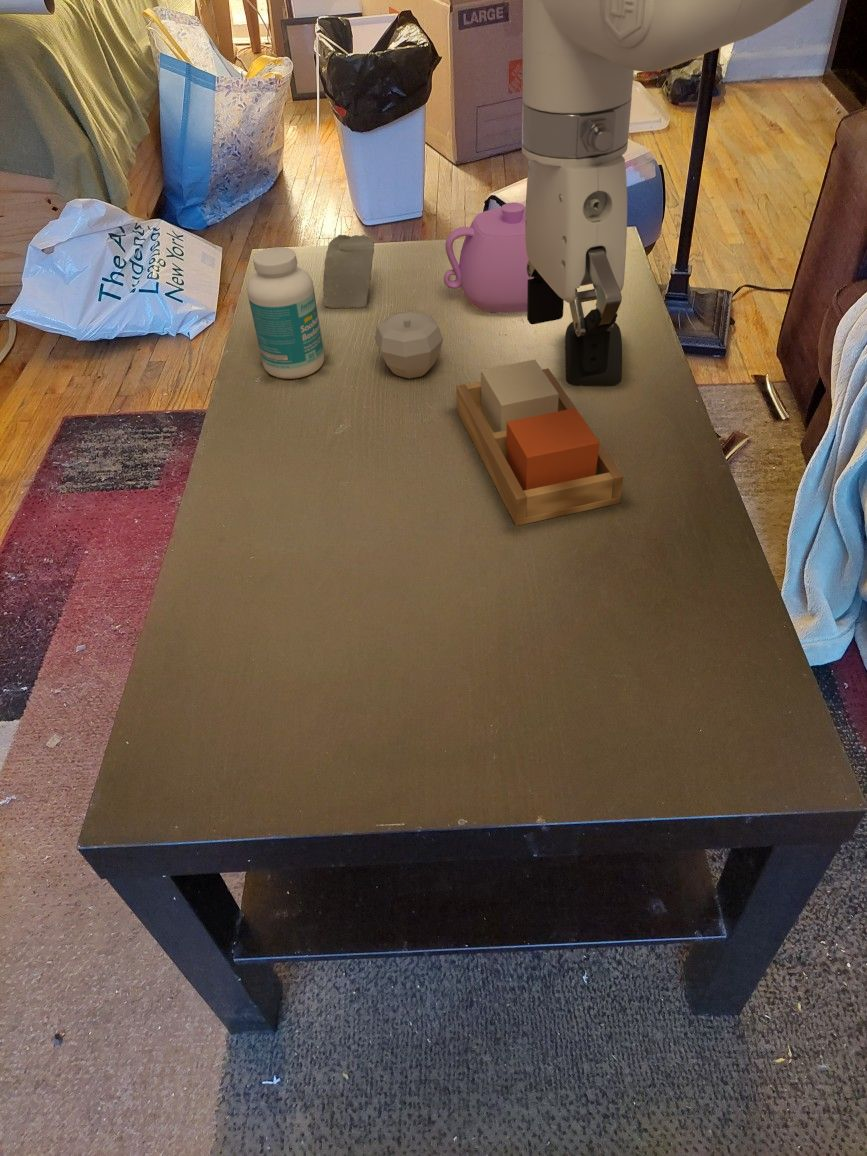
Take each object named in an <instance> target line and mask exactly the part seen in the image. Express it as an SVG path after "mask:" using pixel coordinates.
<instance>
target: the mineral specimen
mask: <svg viewBox="0 0 867 1156" xmlns="http://www.w3.org/2000/svg"><path fill="white" fill-rule="evenodd" d="M374 253H375V242H374V239H373V238H372V237H369V236H368V235H364V234H362V235H357V234H355V235H352V236H350V235H347V234H338V235H337V236H336V237H334V238H333V239H332V240H330V241H329V242H328V245H327V250H326V253H325V258H324V269H323V275H322V276H323V278H322V286H323V287H322V288H323V289H322V294H323V302H324V305H325V307H326V308H330V309H342V308H344V309H350V308H351V309H352V308H353V309H361V308H362V309H364V308H366V307H367V305H368V296H369V289H370V283H371V278H372V277H371V275H372V269H373V261H374V260H373V259H374Z"/></svg>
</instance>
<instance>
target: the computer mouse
mask: <svg viewBox="0 0 867 1156" xmlns="http://www.w3.org/2000/svg"><path fill="white" fill-rule="evenodd" d="M574 330H575V329H574V324H573V321H571V322H570V323H569V324H568V326H567V327H566V330H565V337H564V356H565V357H564V363H565V364H564V365H565V366H564V367H565V381H566V383H567V384H569V385H571V386H576V387H615V386H617V385H619V384H621V382H622V378H623V339H622V332H621V328H620V326H619V325H618V323H617V322H616V321H615V323H614V326H613V330H611V331H610V341H609V352H608V364H607V370H606V371H605V372H604V373H601V374H596V375H592V376H587V377H582V378H577V379H571V378H570V377H569V375H568V373H567V372H568V352H569V332H570V331H574Z"/></svg>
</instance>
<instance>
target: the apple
mask: <svg viewBox="0 0 867 1156" xmlns="http://www.w3.org/2000/svg"><path fill="white" fill-rule="evenodd" d="M374 334H375V335H374V341H375V343H376V345H377V348H378V350H379V352H380V354H381V357H382V359H383V361H384V363H385V364H386V366H387V367H388V368H389V369H390V371H391V372H392V373H393V374H394V375H396V376H398V377H401V378H404V379H405V378H406V379H410V380H411V379H415V378H420V377H423V376H425V375H426V374H427V372H428V371H430V369H431V368H432V367H433V366H434V364H435V363H436V361H437V359H439V356H440V353H441V349H442V345H443V341H444V338H443V336H442V333H441V330H440V327H439V325H438V323H437V322H436V320H435V318H434V317H433V315H431V314H429V313H425V312H420V311H415V310H406V311H401V312H396V313H390V314H389V315H388V316H387V317H385V319H383V320H382V321H381V322H380V323H379V324H378V325H377V326H376V329H375V333H374Z"/></svg>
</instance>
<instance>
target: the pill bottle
mask: <svg viewBox="0 0 867 1156" xmlns="http://www.w3.org/2000/svg"><path fill="white" fill-rule="evenodd" d="M252 263H253V267H254V270H255V273H254V274H253V275H252V276H250V278H249V280H248V282H247V284H246V285H247V286H246V292H247V293H246V294H247V298H248V301H249V306H250V311H251V316H252V321H253V325H254V329H255V334H256V340H257V343H258V349H259V353H260V357H261V362H262V366H263V368H264V370H265V371H266V372H267V373H268V374H269V375H271V376H273V377H275V378H277V379H278V378H279V379H283V380H285V379H286V380H294V379H300V378H305V377H308V376H310V375H312V374H314V373H315V372H317V371H318V370H320V368H321V367H322V366H323V364H324V362H325V351H324V344H323V339H322V331H321V326H320V320H319V313H318V306H317V299H316V293H315V288H314V281H313V279H312V277H311V275H310V274H309V273H308V272H307V270H305V269H303V268H301V267H299V266H298V259H297V253H296V251H294V249H292V248H289V247H283V246H275V247H269V248H265V249H262V250H260V251H258V252H256V253H255V254H254V255H253V257H252Z"/></svg>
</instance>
